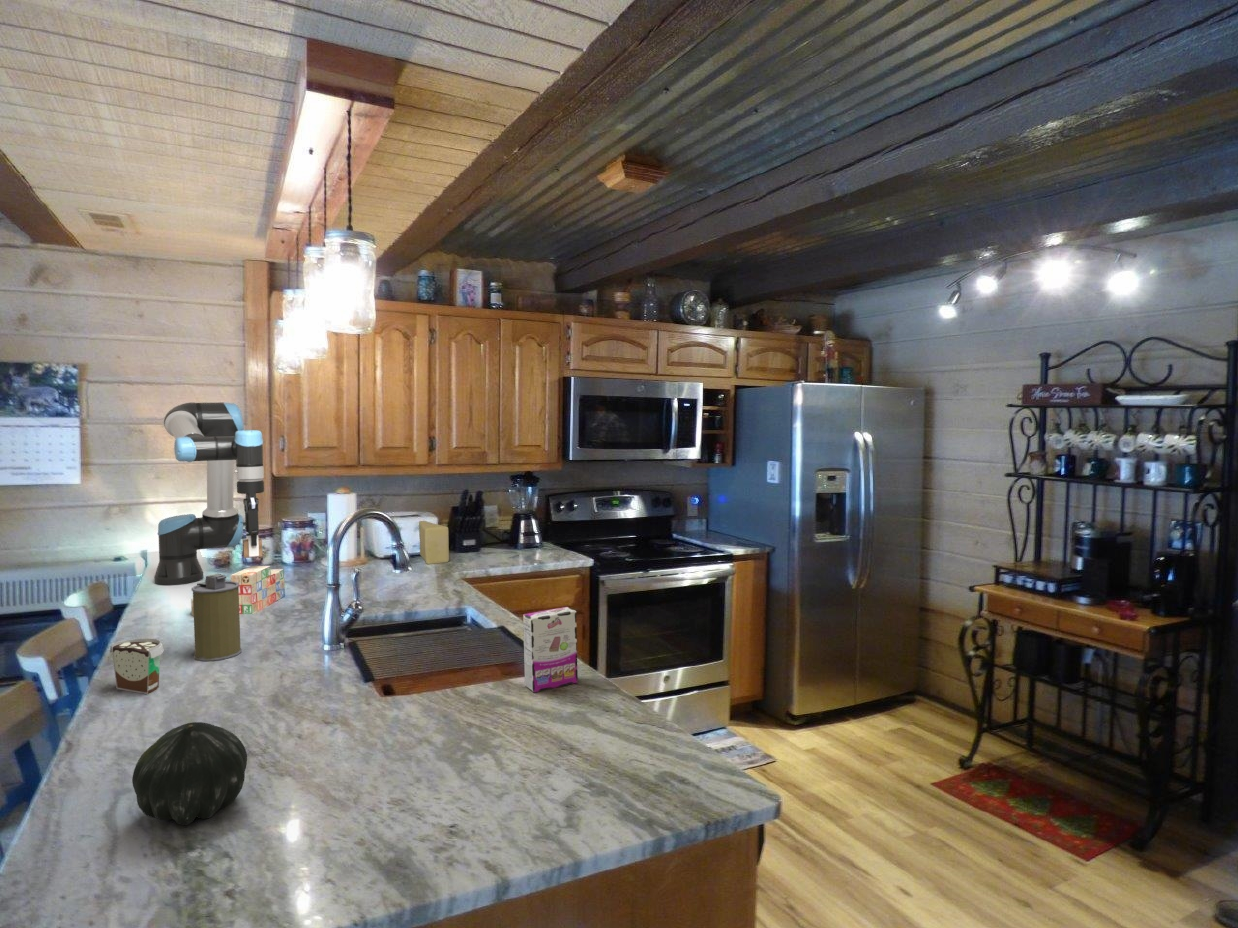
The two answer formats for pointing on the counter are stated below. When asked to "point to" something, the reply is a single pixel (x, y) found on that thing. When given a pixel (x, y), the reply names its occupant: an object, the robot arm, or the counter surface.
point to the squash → (190, 773)
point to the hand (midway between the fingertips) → (252, 554)
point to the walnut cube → (246, 548)
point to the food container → (137, 664)
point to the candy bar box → (550, 648)
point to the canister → (216, 619)
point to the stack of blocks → (259, 587)
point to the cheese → (433, 542)
